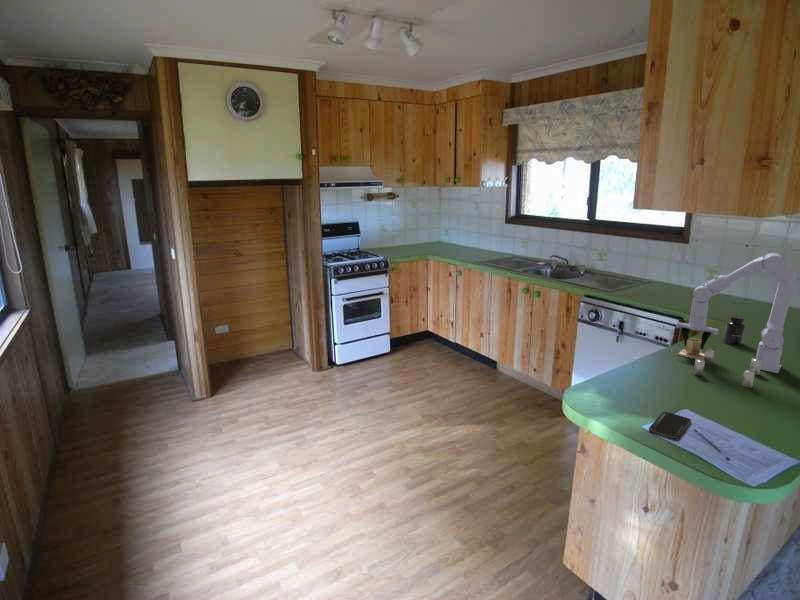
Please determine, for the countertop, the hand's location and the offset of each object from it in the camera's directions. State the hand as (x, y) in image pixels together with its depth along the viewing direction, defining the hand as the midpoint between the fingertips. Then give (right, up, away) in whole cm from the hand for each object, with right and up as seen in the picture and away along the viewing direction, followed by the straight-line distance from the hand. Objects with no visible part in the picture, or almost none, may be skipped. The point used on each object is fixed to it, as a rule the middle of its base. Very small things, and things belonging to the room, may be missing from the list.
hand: (693, 347), depth 194 cm
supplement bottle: (+27, 0, +15) cm, 31 cm away
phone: (-41, -19, -54) cm, 70 cm away
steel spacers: (+1, -8, -18) cm, 19 cm away
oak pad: (0, -3, +1) cm, 4 cm away
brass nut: (0, -2, 0) cm, 2 cm away
